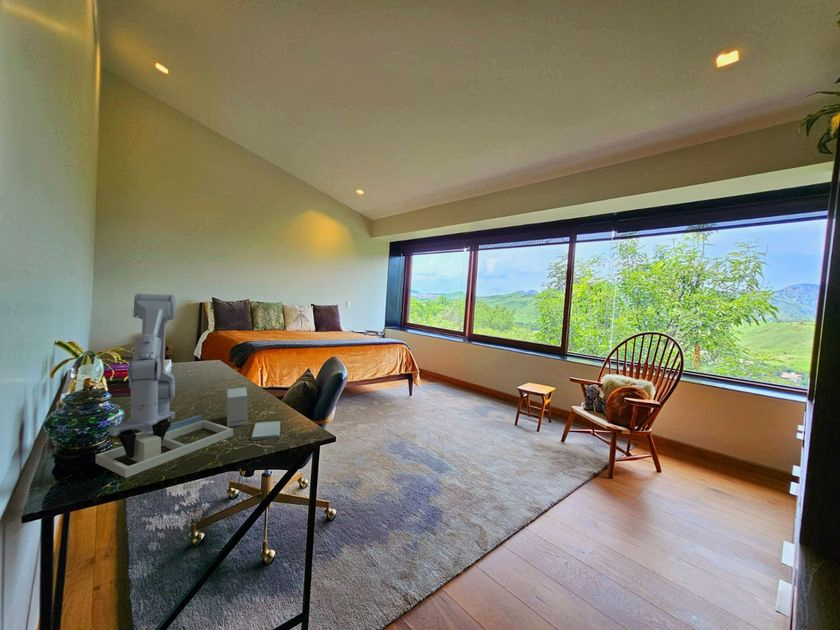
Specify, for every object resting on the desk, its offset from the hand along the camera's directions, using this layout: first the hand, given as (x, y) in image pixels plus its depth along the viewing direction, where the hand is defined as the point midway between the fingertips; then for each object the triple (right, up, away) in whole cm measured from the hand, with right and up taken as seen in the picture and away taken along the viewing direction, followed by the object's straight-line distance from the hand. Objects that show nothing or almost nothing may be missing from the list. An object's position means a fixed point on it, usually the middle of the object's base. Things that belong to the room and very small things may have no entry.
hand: (144, 452), depth 94 cm
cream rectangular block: (0, -2, 0) cm, 2 cm away
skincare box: (+10, -1, +29) cm, 31 cm away
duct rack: (+3, -1, +6) cm, 7 cm away
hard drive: (+24, -2, +22) cm, 32 cm away
